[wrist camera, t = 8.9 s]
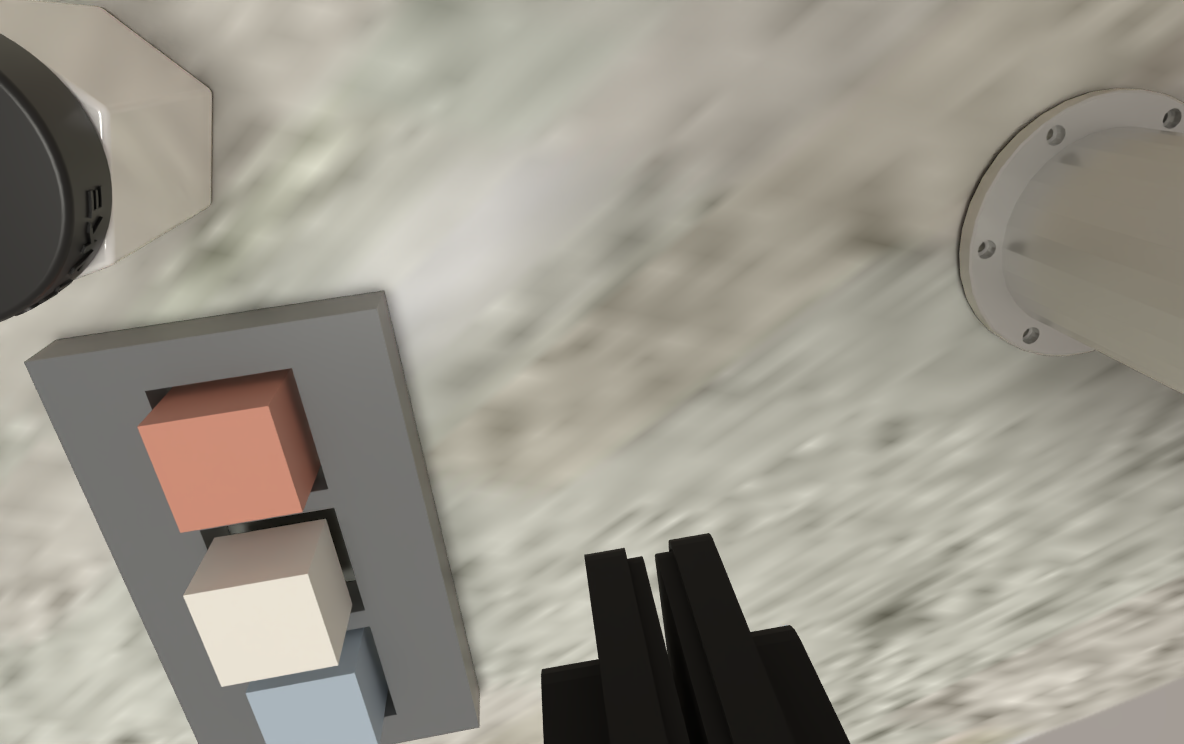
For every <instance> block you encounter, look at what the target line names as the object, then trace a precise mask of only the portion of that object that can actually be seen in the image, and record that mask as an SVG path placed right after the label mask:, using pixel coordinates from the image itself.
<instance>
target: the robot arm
mask: <svg viewBox="0 0 1184 744" xmlns="http://www.w3.org/2000/svg"><path fill="white" fill-rule="evenodd" d="M959 260H960V276H961V280H962V284H963V287H964V291H965V295H966V298H967V300H968V302H969V304H970V305H971V307H972V309H973V311H974V313H975V315H976V316H977V317H978V318H979V320H980V321H981V322H982V323H983V324H984V325H985V326H986V327H987V328H988V329H989V330H990V331H991V332H993V333H994V334H996V335H997V336H999V337H1000V338H1002V339H1003V340H1005V341H1006V342H1008V343H1010V344H1012V345H1014V346H1016V347H1017V348H1019V349H1021V350H1024V351H1028V352H1032V353H1036V354H1040V355H1045V356H1070V355H1076V354H1082V353H1088V352H1092V351H1094V350H1097V351H1099V352H1101V353H1103V354H1105V355H1107V356H1109V357H1111V358H1113V359H1115V360H1117V361H1119V362H1121V363H1122V364H1124V365H1126V366H1128V367H1130V368H1132V369H1134V370H1136V371H1138V372H1140V373H1142V374H1144V375H1146V376H1148V377H1150V378H1152V379H1154V380H1156V381H1158V382H1160V383H1162V384H1164V385H1166V386H1168V387H1170V388H1172V389H1174V390H1176V391H1178V392H1180V393H1182V394H1184V102H1182V101H1180V100H1177V99H1175V98H1173V97H1171V96H1169V95H1167V94H1164V93H1159V92H1154V91H1149V90H1144V89H1124V88H1115V89H1108V90H1101V91H1094V92H1090V93H1087V94H1084V95H1081V96H1078V97H1076V98H1073V99H1070V100H1067V101H1065V102H1063V103H1061V104H1060V105H1058V106H1056V107H1054V108H1052V109H1051V110H1049V111H1047V112H1045V113H1043V114H1042V115H1040V116H1039V117H1038V118H1037V119H1035V120H1034V121H1033V122H1032V123H1030V124H1029V125H1028V126H1026V127H1025V128H1024V129H1023V130H1021V131H1020V132H1019V133H1018V134H1017V135H1016V136H1015V137H1014V138H1013V139H1012V140H1011V141H1010V143H1009V144H1008V145H1007V146H1006V147H1005V148H1004V149H1003V150H1002V151H1001V152H1000V153H999V154H998V156H997V157H996V159H995V160H994V162H993V163H992V165H991V166H990V167H989V169H988V170H987V172H986V173H985V175H984V176H983V178H982V180H981V182H980V184H979V186H978V188H977V190H976V192H975V194H974V196H973V198H972V200H971V202H970V205H969V208H968V211H967V215H966V218H965V221H964V225H963V228H962V235H961V243H960V251H959ZM584 556H585V564H586V571H587V578H588V586H589V593H590V600H591V607H592V615H593V622H594V629H595V636H596V643H597V651H598V658H599V659H597V660H591V661H586V662H580V663H574V664H569V665H563V666H558V667H552V668H546V669H542V672H541V689H542V712H543V735H544V744H850V742H849V740H848V738H847V736H846V734H845V732H844V729H843V727H842V725H841V723H840V721H839V719H838V717H837V715H836V713H835V711H834V709H833V707H832V704H831V702H830V700H829V698H828V696H827V694H826V692H825V690H824V688H823V686H822V684H821V682H820V680H819V677H818V675H817V673H816V671H815V669H814V667H813V665H812V663H811V661H810V659H809V657H808V655H807V652H806V650H805V648H804V646H803V644H802V642H801V640H800V638H799V636H798V635H797V633H796V631H795V629H794V628H793V627H792V626H790V625H788V626H782V627H777V628H771V629H765V630H760V631H754V632H750V630H749V628H748V625H747V623H746V620H745V618H744V615H743V613H742V610H741V608H740V605H739V603H738V600H737V598H736V595H735V593H734V590H733V588H732V585H731V583H730V580H729V578H728V575H727V573H726V570H725V568H724V565H723V563H722V561H721V558H720V556H719V553H718V551H717V548H716V546H715V543H714V541H713V538H712V536H711V535H710V534H709V533H707V534H702V535H696V536H690V537H684V538H679V539H673V540H669V552H664V553H658V554H655V561H656V569H657V577H658V584H659V592H660V600H661V607H662V615H663V623H664V630H665V638H666V646H667V650H666V647H665V643H664V639H663V635H662V631H661V627H660V623H659V619H658V615H657V611H656V607H655V603H654V599H653V595H652V591H651V587H650V583H649V579H648V575H647V571H646V567H645V563H644V559H643V557H642V556H641V557H635V558H629V559H627V556H626V552H625V548H621V549H615V550H610V551H604V552H598V553H592V554H587V555H584ZM667 653H668V654H667Z"/></svg>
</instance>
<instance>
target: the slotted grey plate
mask: <svg viewBox="0 0 1184 744" xmlns="http://www.w3.org/2000/svg"><path fill="white" fill-rule="evenodd" d="M24 363H25V366H26V368H27V370H28V372H29V374H30V376H31V379H32V381H33V383H34V385H35V387H36V390H37V392H38V394H39V396H40V398H41V401H42V403H43V405H44V407H45V409H46V411H47V414H48V416H49V418H50V420H51V422H52V425H53V427H54V429H55V431H56V433H57V435H58V438H59V440H60V442H61V444H62V446H63V449H64V451H65V453H66V455H67V457H68V460H69V462H70V464H71V466H72V468H73V470H74V473H75V475H76V477H77V479H78V481H79V484H80V486H81V488H82V490H83V492H84V495H85V497H86V499H87V501H88V503H89V505H90V508H91V510H92V512H93V514H94V516H95V519H96V521H97V523H98V525H99V527H100V530H101V532H102V534H103V536H104V538H105V540H106V543H107V545H108V547H109V549H110V551H111V554H112V556H113V558H114V560H115V562H116V565H117V567H118V569H119V571H120V573H121V575H122V578H123V580H124V582H125V584H126V586H127V589H128V591H129V593H130V595H131V597H132V600H133V602H134V604H135V606H136V608H137V610H138V613H139V615H140V617H141V619H142V621H143V624H144V626H145V628H146V630H147V632H148V635H149V637H150V639H151V641H152V643H153V645H154V648H155V650H156V652H157V654H158V656H159V659H160V661H161V663H162V665H163V667H164V670H165V672H166V674H167V676H168V678H169V680H170V683H171V685H172V687H173V689H174V691H175V694H176V696H177V698H178V700H179V702H180V705H181V707H182V709H183V711H184V713H185V715H186V718H187V720H188V722H189V724H190V726H191V729H192V731H193V733H194V735H195V737H196V739H197V742H198V744H266V742H265V740H264V737H263V735H262V733H261V730H260V728H259V725H258V723H257V720H256V718H255V715H254V713H253V710H252V708H251V706H250V703H249V701H248V698H247V696H246V691H247V688H248V685H249V682H245V683H240V684H234V685H229V686H224V687H221V684H220V682H219V680H218V677H217V675H216V673H215V670H214V668H213V665H212V663H211V661H210V658H209V656H208V654H207V651H206V649H205V646H204V644H203V642H202V639H201V637H200V635H199V632H198V630H197V628H196V625H195V623H194V620H193V618H192V616H191V613H190V611H189V609H188V606H187V604H186V601H185V599H184V597H183V595H184V593H185V591H186V589H187V587H188V586H189V584H190V582H191V580H192V578H193V576H194V575H195V573H196V571H197V569H198V567H199V565H200V563H201V562H202V560H203V558H204V556H205V554H206V552H207V551H208V549H209V547H210V545H211V543H212V541H213V539H214V538H216V537H221V536H227V535H230V533H229V531H228V528H227V526H229V525H224V526H218V527H212V528H206V529H200V530H194V531H188V532H183V533H180V531H179V528H178V526H177V523H176V521H175V519H174V516H173V514H172V511H171V509H170V506H169V504H168V501H167V499H166V496H165V494H164V491H163V489H162V487H161V484H160V482H159V479H158V477H157V474H156V472H155V469H154V467H153V464H152V462H151V460H150V457H149V455H148V452H147V450H146V447H145V445H144V442H143V440H142V437H141V435H140V433H139V430H138V428H137V426H138V425H139V424H140V423H141V422H142V421H143V420H144V419H145V418H146V416H147V415H148V414H149V413H150V412H151V411H152V410H153V409H154V407H155V406H156V405H157V404H158V403H159V402H160V401H161V400H162V399H163V397H164V396H165V395H166V394H167V393H168V392H169V391H170V390H171V389H172V387H174V386H181V385H187V384H193V383H200V382H206V381H213V380H219V379H225V378H232V377H238V376H245V375H251V374H257V373H264V372H270V371H277V370H283V369H289V368H292V370H293V374H294V377H295V380H296V384H297V387H298V390H299V393H300V397H301V400H302V403H303V407H304V410H305V413H306V417H307V420H308V423H309V426H310V430H311V433H312V436H313V440H314V443H315V446H316V450H317V453H318V456H319V459H320V463H321V466H320V468H319V471H318V473H317V476H316V479H315V481H314V484H313V486H312V489H311V492H310V494H309V497H308V500H307V502H306V505H305V507H304V510H303V512H301V513H306V512H312V511H318V510H324V509H329V508H334V509H335V512H336V516H337V519H338V522H339V525H340V529H341V532H342V535H343V539H344V542H345V545H346V549H347V552H348V555H349V559H350V562H351V565H352V568H353V572H354V575H355V578H356V581H351V582H346V585H347V588H348V592H349V595H350V598H351V601H352V608H351V612H350V617H349V621H348V625H347V630H352V629H358V628H363V627H369V626H370V628H371V631H372V634H373V638H374V641H375V644H376V648H377V651H378V654H379V658H380V661H381V664H382V667H383V671H384V674H385V677H386V681H387V684H388V693H387V700H386V707H385V713H384V720H383V727H382V734H381V741H380V744H396V743H401V742H406V741H411V740H417V739H422V738H427V737H432V736H437V735H443V734H448V733H453V732H458V731H463V730H469V729H474V728H479V716H480V691H479V687H478V683H477V679H476V674H475V670H474V666H473V662H472V658H471V653H470V649H469V645H468V641H467V637H466V632H465V628H464V624H463V620H462V616H461V611H460V607H459V603H458V599H457V595H456V591H455V586H454V582H453V578H452V574H451V570H450V565H449V561H448V557H447V553H446V549H445V544H444V540H443V536H442V532H441V528H440V523H439V519H438V515H437V511H436V507H435V502H434V498H433V494H432V490H431V486H430V482H429V477H428V473H427V469H426V465H425V461H424V456H423V452H422V448H421V444H420V440H419V435H418V431H417V427H416V423H415V419H414V414H413V410H412V406H411V402H410V398H409V393H408V389H407V385H406V381H405V377H404V372H403V368H402V364H401V360H400V356H399V352H398V347H397V343H396V339H395V335H394V331H393V326H392V322H391V318H390V314H389V310H388V305H387V301H386V297H385V293H384V291H379V292H372V293H365V294H359V295H352V296H345V297H339V298H332V299H325V300H319V301H312V302H305V303H299V304H292V305H285V306H279V307H272V308H265V309H259V310H252V311H246V312H239V313H232V314H226V315H219V316H212V317H206V318H199V319H192V320H186V321H179V322H172V323H166V324H159V325H152V326H146V327H139V328H132V329H126V330H119V331H113V332H106V333H99V334H93V335H86V336H79V337H73V338H66V339H59V340H55V341H54V342H52V343H51V344H49V345H48V346H47V347H45V348H44V349H42V350H41V351H39V352H38V353H37V354H35V355H34V356H32V357H31V358H29V359H28V360H26V361H25V362H24ZM295 514H300V513H295ZM289 515H294V514H289ZM283 516H288V515H283ZM277 517H282V516H277ZM271 518H276V517H271ZM265 519H270V518H265ZM265 519H259V520H265ZM259 520H253V521H259ZM253 521H247V522H253ZM247 522H242V523H247ZM236 524H241V523H236ZM230 525H235V524H230ZM347 630H346V631H347Z"/></svg>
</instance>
